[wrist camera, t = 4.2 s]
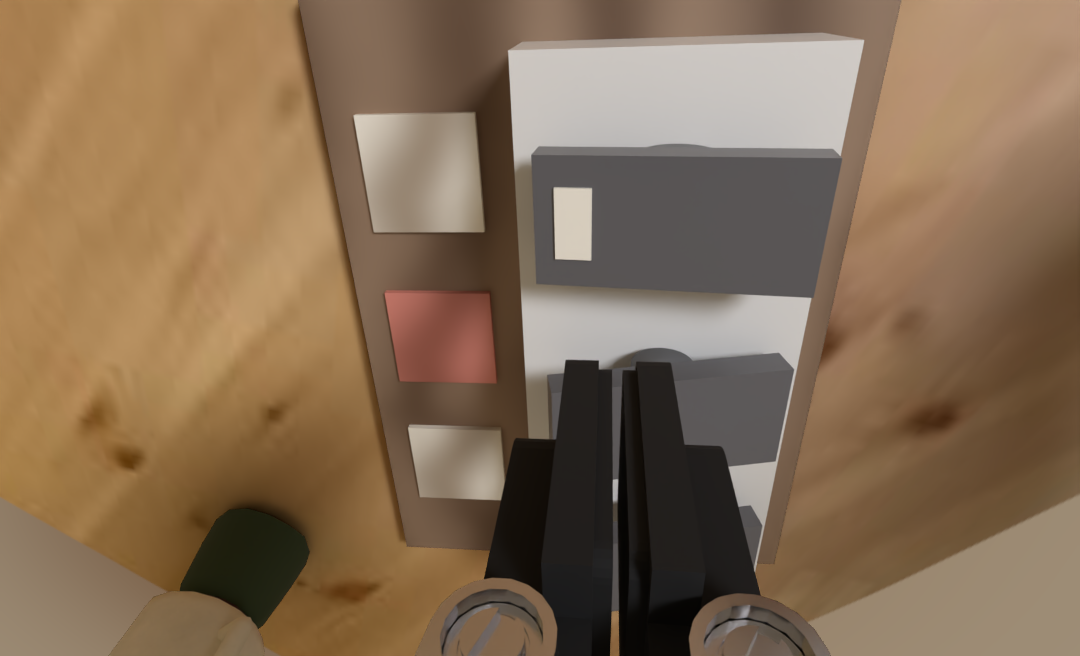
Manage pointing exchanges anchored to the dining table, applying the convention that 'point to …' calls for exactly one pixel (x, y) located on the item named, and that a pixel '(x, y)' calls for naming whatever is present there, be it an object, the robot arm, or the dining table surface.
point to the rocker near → (683, 217)
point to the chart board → (504, 218)
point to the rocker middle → (711, 402)
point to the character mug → (222, 592)
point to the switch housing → (653, 119)
